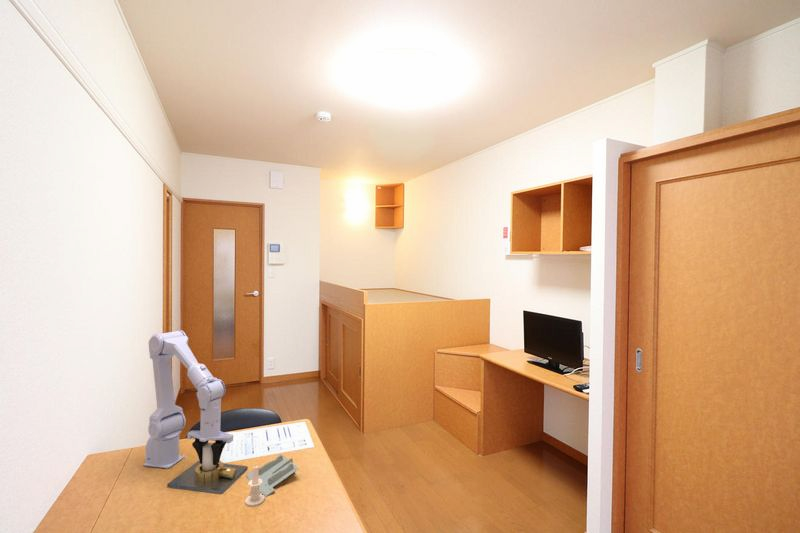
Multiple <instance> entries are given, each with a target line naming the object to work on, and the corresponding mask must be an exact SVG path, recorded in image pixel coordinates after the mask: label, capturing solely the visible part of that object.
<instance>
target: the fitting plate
mask: <svg viewBox="0 0 800 533" xmlns="http://www.w3.org/2000/svg"><path fill="white" fill-rule="evenodd" d="M248 467H249V466H247V465H239V464H229V463H224V462H222V461H221V460H219V463H218V464H216V469H215V470H213V471H208V472H203V471H202V464H200V461H199V460H197V461H196V462H194V463H193V464H192V465H191V466H189V467H188V468H187V469H185V470H184V471H183V472H181V473H180V474H178V475H177V476H175V478H173V479H172V480H171V481H169V482H168V483H167V484H166V487H167V488H170V489H178V490H187V491H194V492H195V491H196V492H201V493H210V494H219V495H223V494H224V493H225V492H226V491H227V490H228V489H229V488H230V487H232V485H233V484H234V483H236V481H237V480H238V479H239V478H240V477H241V476H242V475H243V474H244V473H245V472H246V471H247V470H248Z"/></svg>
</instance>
